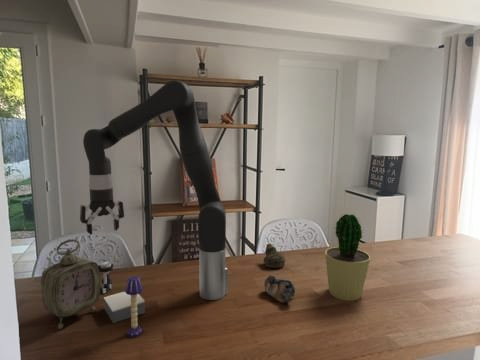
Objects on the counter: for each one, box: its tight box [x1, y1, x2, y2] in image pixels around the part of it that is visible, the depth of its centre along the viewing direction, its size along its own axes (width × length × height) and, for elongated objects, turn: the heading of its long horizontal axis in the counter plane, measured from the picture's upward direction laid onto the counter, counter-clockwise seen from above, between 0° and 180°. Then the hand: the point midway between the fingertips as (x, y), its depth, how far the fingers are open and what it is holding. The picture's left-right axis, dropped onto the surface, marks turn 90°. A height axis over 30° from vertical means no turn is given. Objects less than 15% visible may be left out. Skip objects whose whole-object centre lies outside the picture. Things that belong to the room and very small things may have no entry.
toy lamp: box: [124, 275, 144, 338], centre depth 93 cm, size 5×5×17 cm
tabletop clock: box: [40, 239, 102, 330], centre depth 100 cm, size 14×9×25 cm, turn 148°
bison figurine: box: [264, 274, 296, 303], centre depth 115 cm, size 12×7×10 cm
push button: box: [98, 261, 114, 294], centre depth 119 cm, size 7×5×10 cm
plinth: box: [103, 291, 146, 324], centre depth 106 cm, size 10×10×4 cm
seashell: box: [263, 243, 286, 269], centre depth 143 cm, size 11×12×10 cm
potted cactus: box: [324, 213, 371, 302], centre depth 118 cm, size 15×15×30 cm
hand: (103, 231), depth 117 cm, fingers open, 8 cm apart
